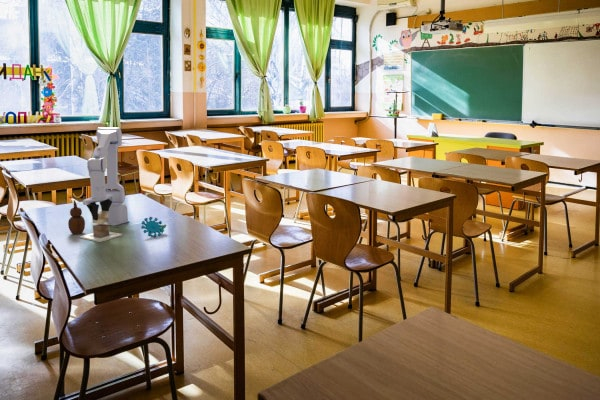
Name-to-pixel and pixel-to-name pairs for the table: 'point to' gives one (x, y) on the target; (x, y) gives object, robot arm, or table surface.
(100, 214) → the birch block
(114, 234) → the board
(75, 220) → the brown gourd
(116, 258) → the table surface
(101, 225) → the walnut block
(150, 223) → the teal virus model
